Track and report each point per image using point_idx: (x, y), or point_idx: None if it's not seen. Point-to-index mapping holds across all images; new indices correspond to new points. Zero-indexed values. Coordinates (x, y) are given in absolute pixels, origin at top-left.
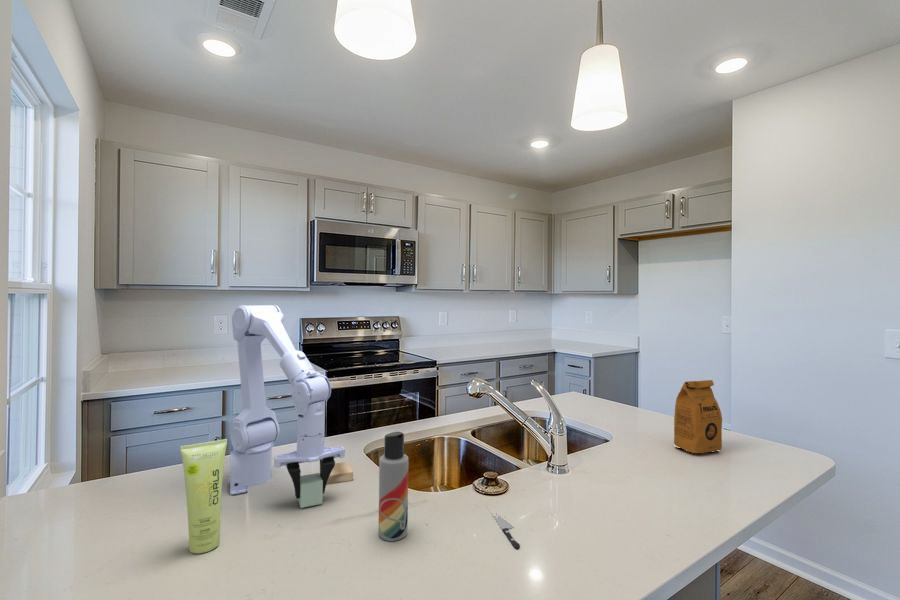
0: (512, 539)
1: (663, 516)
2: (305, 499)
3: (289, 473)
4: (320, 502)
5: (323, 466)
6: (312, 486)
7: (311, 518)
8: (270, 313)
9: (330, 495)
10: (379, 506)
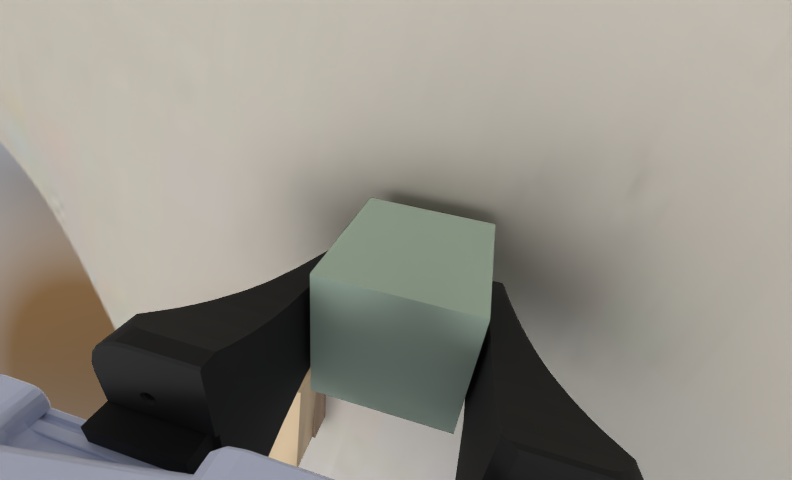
0: None
1: None
2: (462, 240)
3: (639, 470)
4: (378, 202)
5: (233, 374)
6: (400, 275)
7: (456, 145)
8: None
9: None
10: None
